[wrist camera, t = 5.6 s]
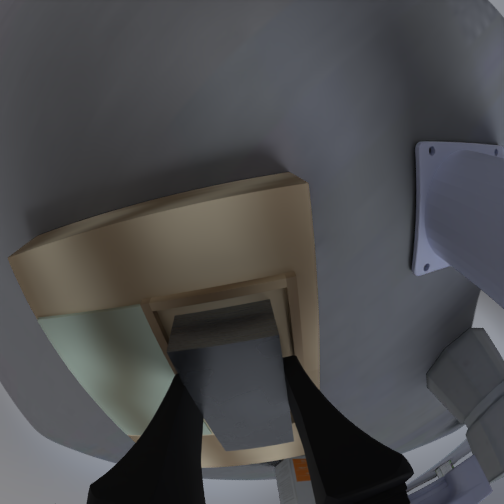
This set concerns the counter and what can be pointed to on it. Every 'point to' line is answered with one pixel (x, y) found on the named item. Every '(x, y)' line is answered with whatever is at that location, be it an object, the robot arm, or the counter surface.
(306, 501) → the skincare box
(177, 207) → the bamboo board
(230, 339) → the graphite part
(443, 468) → the syrup box
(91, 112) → the counter surface
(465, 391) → the coffee maker
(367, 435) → the robot arm
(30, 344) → the counter surface
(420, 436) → the counter surface
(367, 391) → the counter surface
